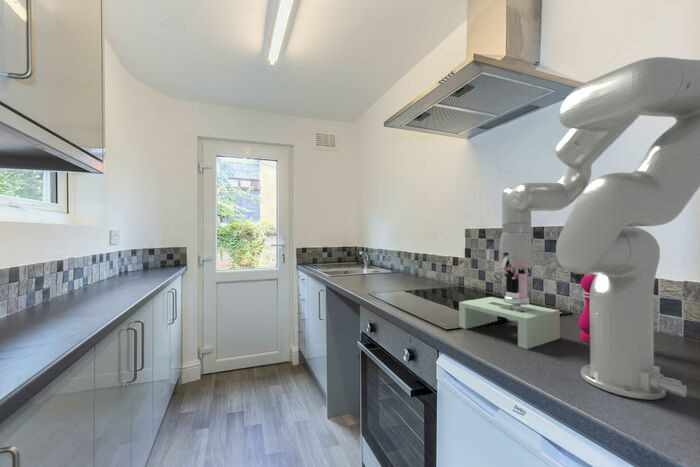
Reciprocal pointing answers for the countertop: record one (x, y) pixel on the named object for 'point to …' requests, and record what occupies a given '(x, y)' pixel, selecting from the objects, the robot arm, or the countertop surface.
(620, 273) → the robot arm
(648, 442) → the countertop surface
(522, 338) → the keyhole bracket
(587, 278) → the pepper mill
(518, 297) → the steel peg
